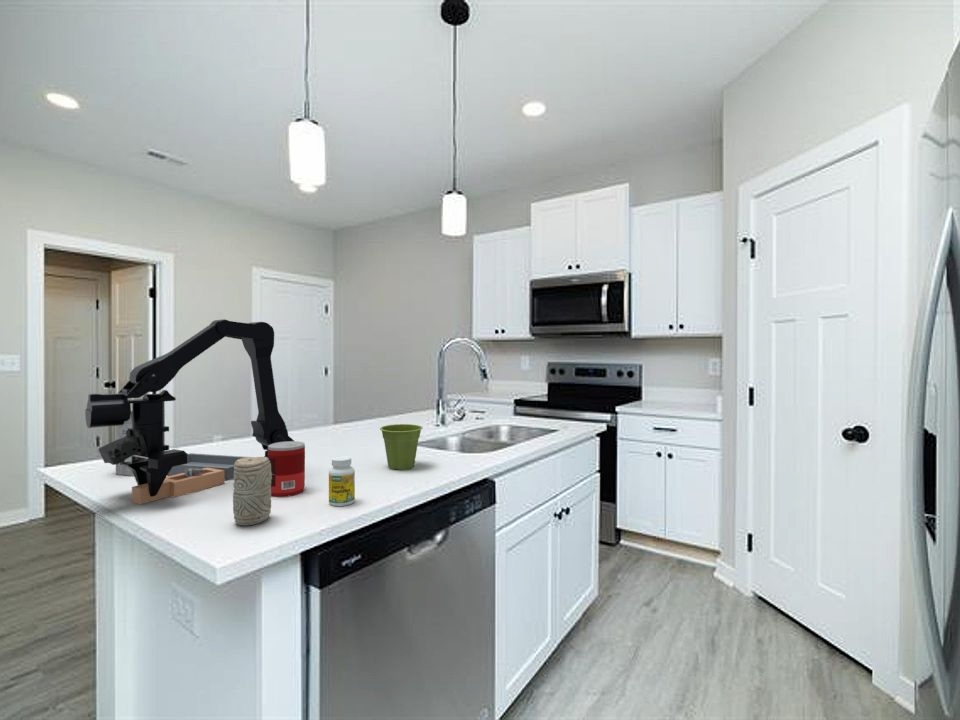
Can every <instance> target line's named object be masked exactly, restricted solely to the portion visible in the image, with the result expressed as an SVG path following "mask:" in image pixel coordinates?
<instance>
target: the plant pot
mask: <svg viewBox="0 0 960 720" xmlns="http://www.w3.org/2000/svg"><path fill="white" fill-rule="evenodd" d="M423 429H424V427H423V426H422V425H419V424H410V423H409V424H408V423H399V424H397V423H396V424H395V423H394V424H386V425H383V426H380V427H379V430H380V431H381V432H382V433H381V434H382V435H381V436H382V439H383V441H384V448H385V449H384V450H385V455H386V460H387V467H388V469H390V470H400V471H405V470H411V469H412V468H413V467H414V466H415V463H416V457H417V451H418V445H419V439H420V437H421V436H420V435H421V431H422V430H423Z"/></svg>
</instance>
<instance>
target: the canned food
mask: <svg viewBox="0 0 960 720" xmlns="http://www.w3.org/2000/svg"><path fill="white" fill-rule="evenodd" d="M268 459H269V461H270V463H271V473H272V480H271V497H275V498H278V497H279V498H281V497H292V496H295V495H299V494H301V493H303V492H304V489H305V487H306V486H305V485H306V484H305V483H306V482H305V480H306V477H305V475H306V471H305V470H306V469H305V468H306V445H305V442H303V441H296V440H294V441H287V442H278V443H273V444H270V445H269V446H268Z"/></svg>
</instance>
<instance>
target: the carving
mask: <svg viewBox="0 0 960 720" xmlns="http://www.w3.org/2000/svg"><path fill="white" fill-rule="evenodd" d="M251 457H252V458H242V459H238V460H237V461H236V462H235V463H234V465H235V466H234V469H235V470H234V478H233V489H232V490H233V491H232V505H233V507H232V511H233V512H232V513H233V519H234V522H235V523H236V525H238V526H254V525H257V524H260V523H262V522H263V521H265V520H266V519H268V518H269V517H270V514H271V513H272V510H271V509H272V499H271V498H272V496H271V480H272V473H271V463H270V461H269V459H268V458H267V457H264V456H256V457H255V456H251Z"/></svg>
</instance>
